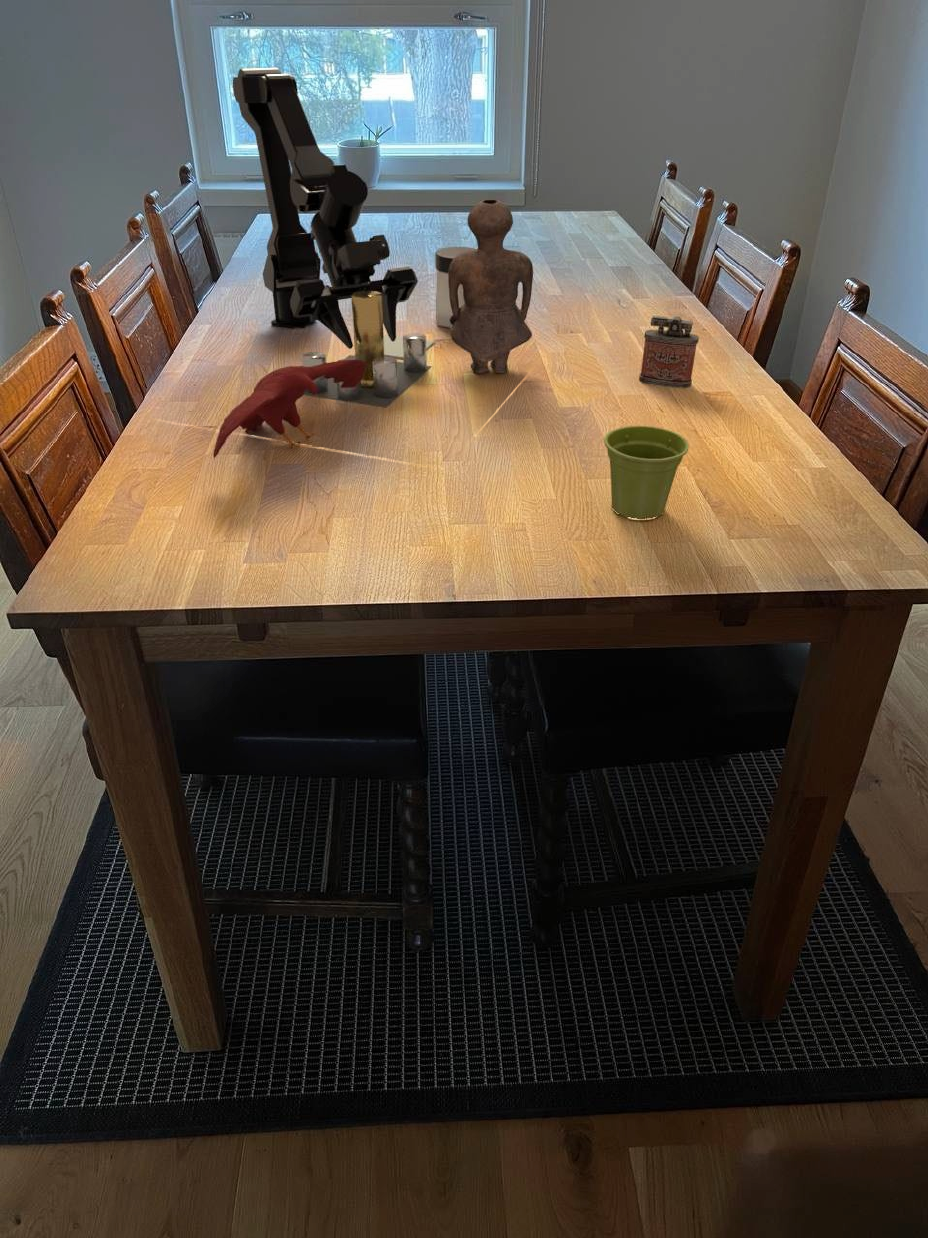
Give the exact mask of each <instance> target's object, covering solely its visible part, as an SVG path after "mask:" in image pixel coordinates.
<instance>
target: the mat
mask: <svg viewBox="0 0 928 1238" xmlns="http://www.w3.org/2000/svg"><path fill="white" fill-rule="evenodd" d="M344 359H355V355H352V354H349V355H348V356H346V357H345V358H344ZM432 367H433V366H432V365H431V366H430V365H427V369H426V370H425V371H423V372H418V373H412V372H407V371H405V370H404V361H403V362H401V361H397V369H398V395H397V396H396V397H393V398H378V397H376V396H375V395H374V389H366V388H362V397H361V398H360V399H358V400H354V401H344V400H340V399H339V398H338V395H337V383H334V378H330V379H328V390H327V391H326V392H323V393H319V394H317V396H315V395H314V394H312V393H307V392H304V394H303V396H307V397H308V396H309V397H313V398H314V397H315V398H323V399H327V400H335V401H339V402H346V403H353V404H354V403H355V404H359V405H360V404H361V405H367V406H374V407H378V408H379V407H380V408H388V407H389V406H390V405H391V404H392V403H394V401H396V400H397V399H398V398H399V397H400V396H401V395H402V394H403V393H404V392H406V391H407V390H408V389H409V388H410V387H411V386H412V385H413V384H414V383H415V382H417V381H418V380H419V379H420V378H421V377H422V376H423V375H424V374H425V373H427V372H428V371H429V370H430V369H431V368H432Z"/></svg>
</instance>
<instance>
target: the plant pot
mask: <svg viewBox="0 0 928 1238" xmlns="http://www.w3.org/2000/svg"><path fill="white" fill-rule="evenodd" d="M603 440H604V441H603V443H604V447H605V448H606V449H607V456H608V458H609V467H610V468H609V469H610V487H611V488H610V490H611V491H610V492H611V493H610V494H611V509H612V508H613V509H614V510H615V511H616V512H617V513H619V514H621V515H620V516H624V517H625V516H626V518H627V517H631V518H637V519H645V518H646V519H647V518H653V517H656V516H658V517H659V516H661V514H662V513H663V512H664V513H665V509H666V505H667V502H668V500H669V496H670V493H671V489H672V486H673V483H674V480H675V477H676V472H677V470H678V466H679V465H680V464H681V463H682V461H683V458H684V457H685V455H687V453H688V451H689V448H690V445H689V442H688V440H687V439H686V438H685V437H683V436H682V434H679V433H677V432H675V431H673V430H669V429H666V428H663V427H657V426H650V425H627V426H622V427H618V428H615V429H613V430H610V431H609V432H608V433H607V434H605V437H604V439H603ZM613 509H612V510H613ZM664 513H663V514H664ZM663 514H662V515H663Z"/></svg>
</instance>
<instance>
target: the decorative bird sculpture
mask: <svg viewBox="0 0 928 1238" xmlns="http://www.w3.org/2000/svg"><path fill="white" fill-rule="evenodd" d="M337 361H338V362H337ZM337 361H330V362H326V363H324V364H320V365H317V366H311V367H305V366H302V365H297V366H296V365H290V366H285V367H281V368H278V369H277V368H276V369H275V370H273V371H271V372H269V373H267V374H266V375H264V377H262V378H260V379H259V381H258V382H257V383H256V385H255V387H254V388H253V392H252V393H251V394H250V395H249V396H247V397H246V398H245V399H244V400H243V401H241V402H240V404H238V405H237V406H235V407H234V408H233V409H232V410H231V411H230V413H229V414H227V416H226V417H225V418H224V420H223V423H222V424H221V426H220V428H219V431H218V435H217V438H216V443H215V446H214V450H213V459H215V458H216V457H217V456H218V454H219V452H220V450H221V449H222V447H223V446H224V445H225V443H226V441H227V439H228V438H229V437H230V436H231V434H232V433H234V431H235V430H237V429H238V428H239V427H240V428H241V429H242V430H244V433H246V434H248V433H250V432H251V431H255V430H256V429H257V428H259V427H262V426H263V424H264V422H265V424H266V425H268V427H270V428H272V430H273V431H274V432H275V433H276V434H278V435H279V436H280V435H282V436H283V437H284V438H285V440H286V441H288V443H289V444H290V448H291V449H293V447H295V446H296V445H297V444H299V443H301V442H300V441H297V442H295V443H293V441H292V440H291V438H290V437H288V435H287V434H286V430H285V426H284V424H283V421H285V422H287V423H288V424H289V425H290V426H291V427H293V428H298V429H299V431H301V432H302V433H303V435H304V437H305V440H307V439H309V438H311V437H313V436H315V435H316V434H314V433H311V434H310V435H308V434H307V432H306V430H304V429H303V428H302V426H301V422H302V421H301V417H300V414H299V411H298V410H297V404H296V402H297V401H298V400H299V399H300V398H302V397H303V396H304V395H303V394H304V392H305V391H306V390H309V391H310V392H311V393H312V394H314V395H315V396H317V391H318V390H317V387H316V385H315V383H314V382H313V380H315V379H317V378H319V377H321V376H323V375H325V376H324V378H326V379H330V378H334V383H339V382H343V383H342V385H341V388H347V387H349V388H353V387H355V386H356V385H357V384H358V383H359V382H360V380H361V379H362V376H363V375H364V371H365V369H366V366H367V363H366V362H364V361H362V360H343V361H339V360H337Z"/></svg>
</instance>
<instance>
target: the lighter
mask: <svg viewBox="0 0 928 1238" xmlns="http://www.w3.org/2000/svg"><path fill="white" fill-rule="evenodd" d="M693 324H694V322H693V320H683V319H682V318H681V317H680V316H677V315H676V316H674V317H672V318H669V317H667V316H659V315H652V317H651V319H650V326H651V327H658V328H657V329H648V330H647V329H646V330H645V331H644V335H643V337H644V346H643V353H642V354H643V355H642V361H641V367H640V368H641V369H640V373H639V375H638V381H639V382H640V383H643V384H647V385H651V384H653V386H657V385H658V387H666V388H672V389H673V388H675V389H677V388H678V389H679V388H680V389H688V388H691V387H692V382H693V378H692V375H693V370H694V363H695V357H696V351H697V344H698V343H699V339H700V338H699V335H696V334H695V333H694V334H693V333H692V329H693ZM665 328H667V329H666V330H665Z"/></svg>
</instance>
